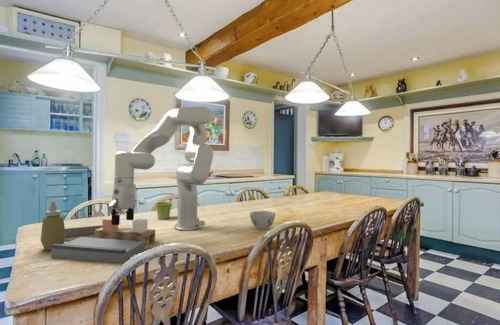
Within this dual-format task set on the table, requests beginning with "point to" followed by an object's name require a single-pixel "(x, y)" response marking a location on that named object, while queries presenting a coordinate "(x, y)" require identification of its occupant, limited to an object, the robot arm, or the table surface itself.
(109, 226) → the salmon pink cube
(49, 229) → the squeeze bottle
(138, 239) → the wooden beam
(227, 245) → the table surface
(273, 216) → the teacup
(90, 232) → the hardcover book
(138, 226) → the white cube
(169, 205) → the plant pot
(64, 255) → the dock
